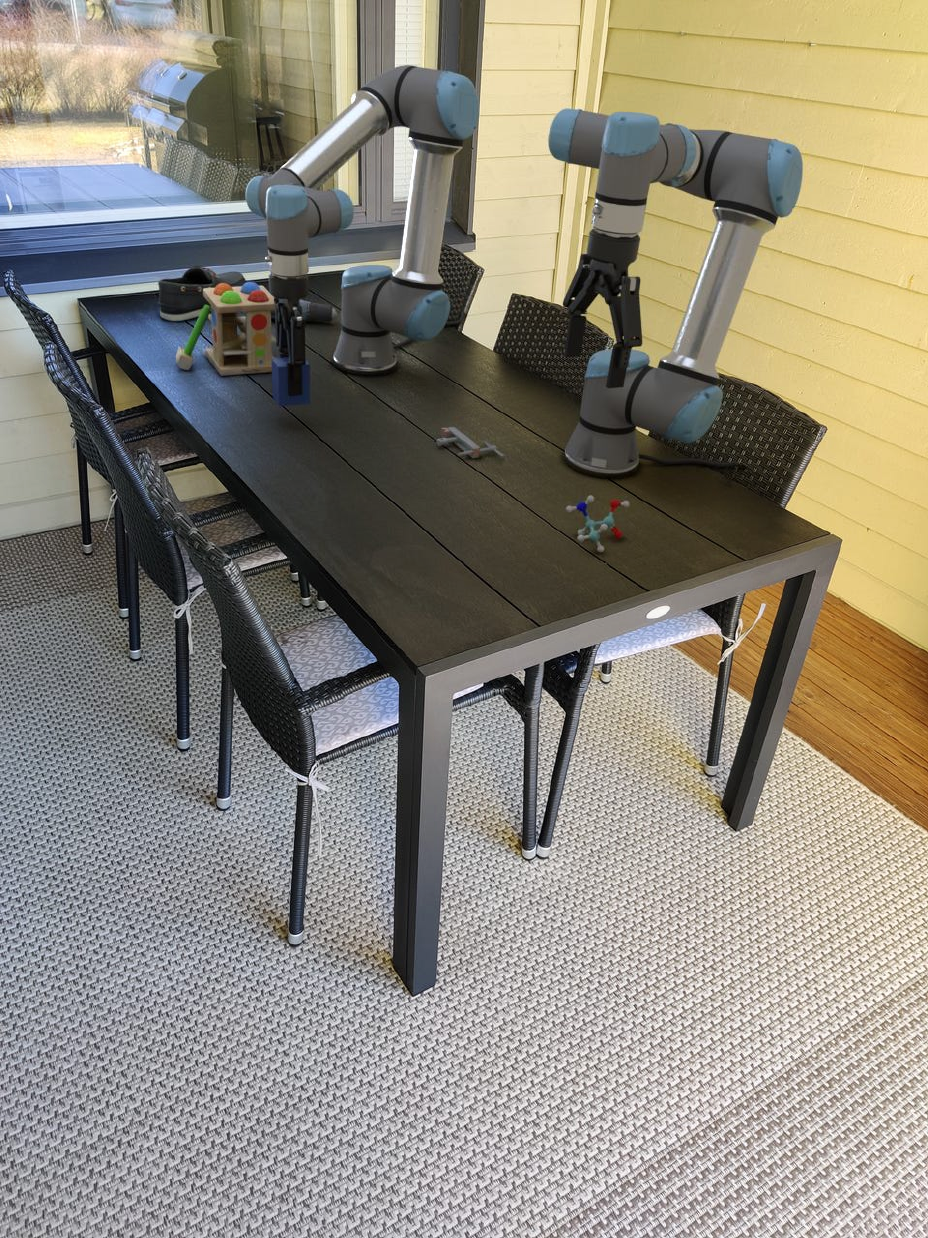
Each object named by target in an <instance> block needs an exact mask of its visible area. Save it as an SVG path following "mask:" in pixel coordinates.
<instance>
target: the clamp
mask: <svg viewBox="0 0 928 1238" xmlns="http://www.w3.org/2000/svg"><path fill="white" fill-rule="evenodd" d="M452 443H453V444H454V445H456V446H457V447H458V448H459V449H460V450H462V451H463V452H458V453H457V456H458V457H460V456H469V457H470V458H472V459H477V458H480V454H482V453H487V452H488V453H496V454H497V455H498V456H499V457H500V459H502V460H504V459H506V457H507V456H506V454H504V453H501V452H500V451H499V450H498V447H497V446H496V445H495V444H494V445H491V444H490V443H489V442H488V441H486V440H485V441H484V442H483V446H484V447H483V448H481V447H480V446H479V444H476V443H475V442H474V441H473V440H471V439H470V438H469V437H468V436H466V435H465V434H464V433H463V432H461V431H460V430H459V429H457V428H456V427H455V426H450V427H441V429H440V437H439V438H436V444H437V445H438V446H439V447H441V446H448V445H449V444H452Z"/></svg>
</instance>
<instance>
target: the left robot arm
mask: <svg viewBox="0 0 928 1238" xmlns="http://www.w3.org/2000/svg"><path fill="white" fill-rule="evenodd" d="M479 100H480V99H479V95H478V92H477V90H476V88H475V85H474V83H473V82H472V81H471V79H469V78H468V77H467V76H465V75H462V74H459V73H456V72H453V71H451V70H440V69H434V68H428V67H422V66H416V65H411V64H410V65H409V64H404V65H399V66H395V67H391V68H390V69H388V70H386V71H383V72H381V73H380V74H378V75H376V76H375V77H374V78H371V80H369V81H367V82H366V83H365V84H363V86H361V87H359V89H358V90H356V92H354V93H353V95H352V97H351V101H350V104H349V105H348V106H347V107H345V109H344V110H342V112H340V113H339V114H338V115H336V117H335V118H334V119H333V120H331V122H329V124H327V125H326V126H325V127H324V128H323V129H322V130H320V132H319V133H318V134H316V135H315V136H314V137H313V138H311V140H310V141H309V142H307V143H306V144H305V145H304V146H303V147H302V148H301V149H300V150H299V151H297V152H296V153H295V154H294V155H293V156H292V157H291V158H289V160H288V161H287V162H286V163H285V164H284V165H282V166H281V167H280V168H279V169H278V170H277V171H275V173H274V174H273V175H272V176H268V175H258V176H257V175H256V176H254V177H252V178H251V179H250V181H249V182H248V184H247V186H246V190H245V202H246V204H247V207H248V209H249V211H250V212H252V213H253V214H254V215H256V216H258V217H261V218H263V219H266V221H265V222H266V237H267V254H268V256H265V259H264V260H265V262H267V263H268V272H269V273H270V274H269V275H268V292H269V293H270V294H271V295H272V296H273V297H274V305H275V319H274V320H275V321H274V322H275V338H276V343H275V346H276V347H277V348H278V353H279V358H284V357H289V363H286V366H288V393H289V396H297V395H302V365H305V364H306V360H307V359H306V324H307V323H306V322H307V321H306V318H305V316H301V315H302V307H301V306H300V303H299V300H300V299H301V298H304V297H305V298H306V297H307V296H308V295H309V293H310V291H309V276H308V275H307V274H308V273H309V270H310V268H309V267H310V266H309V264H310V263H309V239H310V238H314V237H320V236H324V235H329V234H336V233H338V232H340V231H344V230H347V229H348V228H350V226H351V225H352V223H353V221H354V217H355V216H354V214H355V212H354V211H355V208H354V203H353V201H352V199H351V197H350V196H349V195H348V193H347V192H345V191H344V190H342V189H332V188H329V189H327V190H319V189H320V188H321V187H322V186H323V185H324V184H325V183H326V182H327V181H328V180H329V179H330V178H331V177H332V176H334V175H335V174H336V173H337V172H338V171H339V170H340V169H341V168H342V167H343V166H344V165H345V164H346V163H347V162H349V160H351V159H352V158H353V157H354V156H355V155H356V154H357V153H358V152H359V151H360V150H361V149H362V148H363V147H364V146H365V145H367V144H368V143H369V142H370V141H371V140H372V139H374V137H375V136H376V137H380V136H383V135H385V134H386V133H387V132H388V131H389V130H392V129H393V128H401V127H402V128H403V127H404V128H407V129H408V135H407V136H408V137H407V139H408V141H409V143H410V144H411V145H412V147H413V155H412V164H411V171H410V179H409V186H408V187H409V188H408V196H407V203H406V211H405V220H404V228H403V236H402V242H401V243H402V244H401V253H400V261H399V265H398V267H397V268H395V269H393V268H392V267H390V266H388V265H384V264H363V265H355V266H351V267H348V268H346V269H345V270H344V272H343V273H342V277H341V278H342V279H341V286H340V289H341V290H340V291H341V292H340V294H341V295H340V297H341V305H340V306H341V307H340V308H341V310H340V311H341V313H340V314H341V316H340V317H341V319H340V321H341V324H340V325H341V326H340V329H341V330H340V336H339V338H338V341H337V344H336V348H335V350H334V352H333V354H332V355H333V361H332V362H333V363H332V364H333V366H334V367H335V368H337V369H338V370H339V371H342V372H344V373H347V374H352V375H356V376H380V375H381V376H382V375H386V374H389V373H391V372H393V371H395V369H396V368H397V361H398V359H397V354H396V352H395V349H399V348H401V347H404V346H406V345H408V344H409V343H411V342H412V341H413V340H415V341H419V342H428V341H431V340H434V339H435V338H436V337H437V336H438V335H439V334H440V333H441V331H442V330H443V329H444V327H450V326H452V327H453V326H458V325H460V324H462V323H463V322H464V320H465V317H466V316H467V314H466V311H464V310H461V315H460V319H458V320H455V321H448V319H449V315H450V312H451V302H450V297H449V296H448V294H446V293H445V291H443V285H444V279H443V278H442V276H441V275H440V273H439V266H440V259H441V258H440V257H441V251H442V244H443V237H444V231H445V230H444V229H445V223H446V216H447V210H448V209H447V208H448V200H449V195H450V188H451V187H450V186H451V182H452V181H451V180H452V173H453V167H454V166H453V165H454V159H455V156H456V154H457V153H459V152H460V151H461V150H462V149H463V146H464V141H465V140H466V139H469V138H470V137H472V136H473V134H474V133H475V130H476V129H477V127H478V122H479V118H480V101H479ZM391 333H394V334H397V335H400V336H403V337H406V339H405V340H403V341H400V342H398V343H396V344H394V343H393V341H392V337H391V336H392V335H391Z"/></svg>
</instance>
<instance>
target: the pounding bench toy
mask: <svg viewBox="0 0 928 1238" xmlns="http://www.w3.org/2000/svg"><path fill="white" fill-rule="evenodd" d="M203 296H204V297H205V299H206V300H207V301H208V302H209V304H210V305H211V307H210V306H208V305H204V307H203V309H202V311H201V314H200V316H198V318H197V320H196V322H195V324H194V327H193V329H192V331H191V332H190V333H191V334H190V336H189V338H188V340H187V343H186V344H185V347H184V348H182V347H180V346H179V347H178V349H177V351H176V354H175V357H174V358H175V362H176V365H177V366H178V368H179V369H182V370H185V371H189V370H190V369H191V367H192V365H193V363H194V356H193V351H194V348H195V347H196V345H197V342H198V340H199V337H200V336H201V333H202V332H203V329H204V326H205V325H206V322H207V320H209V321H210V322H211V336H212V337H211V338H212V339H211V340H212V348H205V349H204V352H205V353H204V355H205V357H206V359H208V361H209V363H210V364H211V365H212V366H213V367H214V369H215V370H216V371H217V372H218V374H219V375H220V376H222V377H223V376H234V375H235V376H236V375H246V374H247V375H250V374H262V373H272V360H271V359H272V358H276V357H275V356H274V355H273V348H272V347H273V345H272V344H276V336H274V334H272V318H271V310H275V305H274V296H272V295H271V294H270V292H269V290H268V289H267V288H266V287H264V285H259V284H257V283H256V282H255V281H246V283H245V284H244V285H243V286H242V287H231V286H230V285H228V284H226V283H221V284H218V285H217V286H216V287H215V288H204V289H203ZM210 310H211V311H210ZM238 313H244V314H245V315H244V316H238ZM238 329H239V331H240V333H239V334H238Z"/></svg>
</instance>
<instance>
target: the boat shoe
mask: <svg viewBox="0 0 928 1238" xmlns="http://www.w3.org/2000/svg"><path fill="white" fill-rule="evenodd" d="M221 283H226V284H228V285H230V286H231V287H242V286H243V285H244V284H245V283H247V280H246V278H245V277H244V274H242V273H241V272H239V271H228V272H223V273H222V272H221V273H218V274H216V273H215V272H214V271H213V270H212V269H210V268H207V267H204V266H200V265H194V266H191V267H190V268H188V269H187V270H185V272H184V273H183V274H182V276H181V277H176V278H161V279H158V281H157V285H158V301H157V305H158V306H159V307H160V309H159V312H160V318H162V319H164V320H166V321H170V322H171V321H172V322H181V321H186V320H190V319H191V320H192V319H194V318H197V317H199V316H200V314H201V311H202V309H203V307H204V305H208V306H210V307H211V305H210V304H209V302H208V301H207V300H206V299H205V297H204V296H203V289H204V288H215V287H216V286H217V285H218V284H221ZM210 312H211V310H210Z"/></svg>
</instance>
